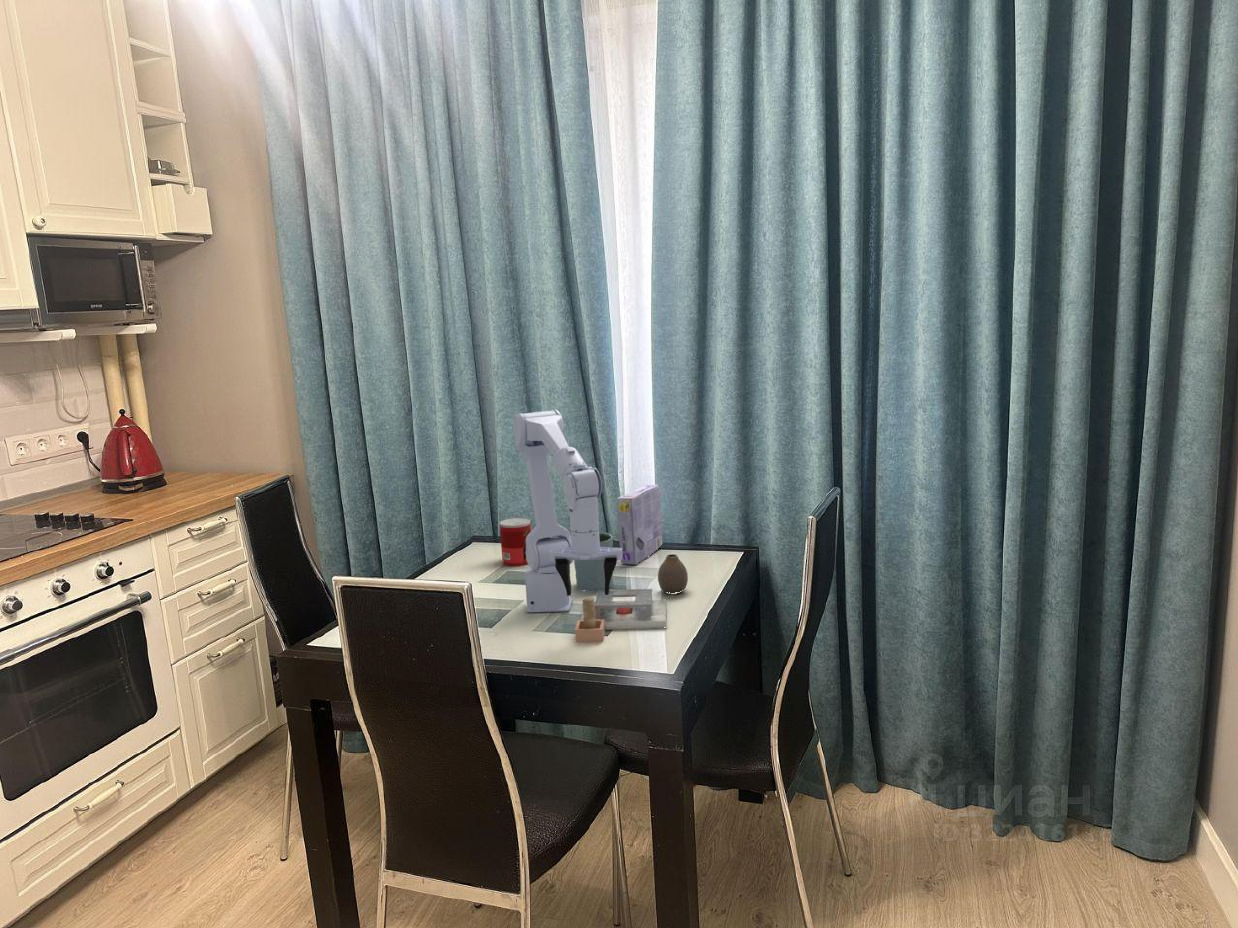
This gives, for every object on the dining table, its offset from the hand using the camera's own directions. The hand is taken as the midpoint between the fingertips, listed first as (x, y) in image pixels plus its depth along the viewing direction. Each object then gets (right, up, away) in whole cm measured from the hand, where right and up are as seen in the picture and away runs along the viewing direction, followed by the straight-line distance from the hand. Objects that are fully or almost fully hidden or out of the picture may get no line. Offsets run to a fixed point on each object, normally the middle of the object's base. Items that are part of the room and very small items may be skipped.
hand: (588, 593), depth 185 cm
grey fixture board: (+7, -7, +11) cm, 15 cm away
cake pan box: (+13, +2, +56) cm, 58 cm away
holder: (0, -9, +2) cm, 9 cm away
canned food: (-20, 0, +56) cm, 59 cm away
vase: (+19, -4, +27) cm, 33 cm away
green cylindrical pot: (0, -3, +34) cm, 34 cm away
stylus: (0, -9, +2) cm, 9 cm away
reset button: (+7, -7, +11) cm, 15 cm away
